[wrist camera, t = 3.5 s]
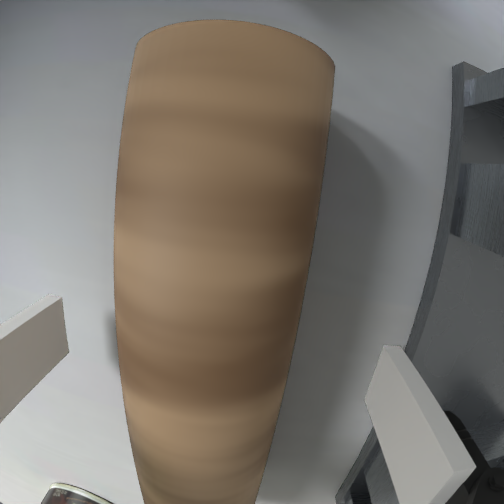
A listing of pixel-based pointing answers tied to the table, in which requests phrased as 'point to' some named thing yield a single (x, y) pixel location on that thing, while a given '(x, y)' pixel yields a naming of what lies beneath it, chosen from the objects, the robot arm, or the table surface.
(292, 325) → the tan cylinder
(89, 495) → the coffee can
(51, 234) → the table surface
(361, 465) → the bracket
